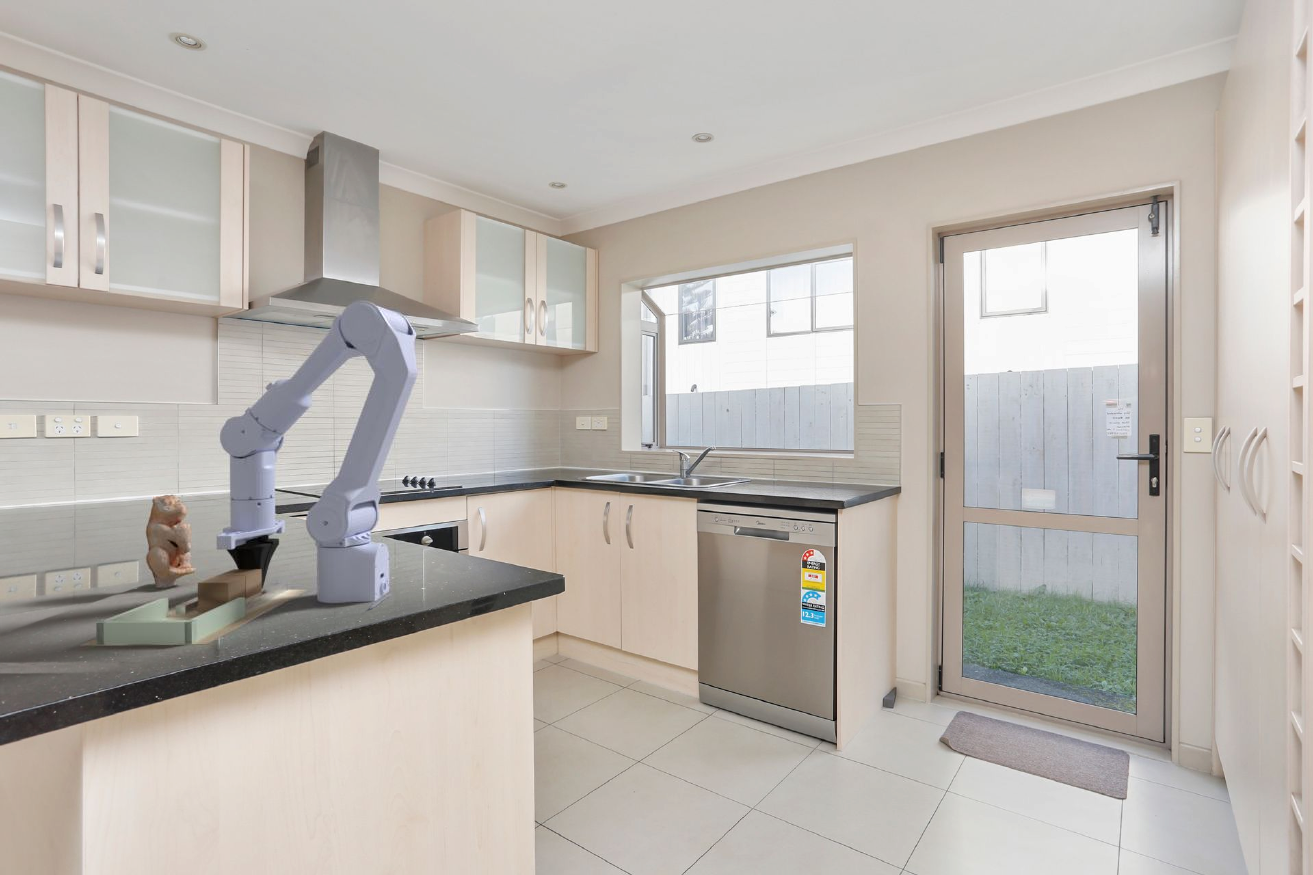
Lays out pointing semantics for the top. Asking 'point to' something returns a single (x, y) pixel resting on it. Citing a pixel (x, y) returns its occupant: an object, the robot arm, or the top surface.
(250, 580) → the brown wooden block
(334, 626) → the top surface
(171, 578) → the figurine
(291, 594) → the slot board
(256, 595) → the slot rails
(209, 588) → the chip
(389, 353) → the robot arm
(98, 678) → the top surface
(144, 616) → the tray
